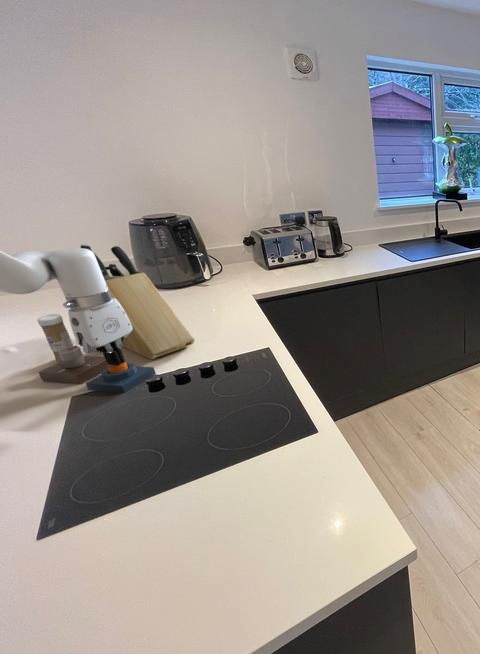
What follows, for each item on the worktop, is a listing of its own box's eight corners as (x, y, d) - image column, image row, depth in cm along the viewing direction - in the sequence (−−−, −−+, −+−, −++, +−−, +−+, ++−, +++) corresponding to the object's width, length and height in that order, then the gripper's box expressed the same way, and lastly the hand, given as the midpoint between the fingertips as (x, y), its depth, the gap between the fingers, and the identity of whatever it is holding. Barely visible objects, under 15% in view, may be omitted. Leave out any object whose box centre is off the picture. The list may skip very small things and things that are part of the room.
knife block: (139, 323, 139) (107, 236, 127) (198, 347, 125) (168, 251, 113) (97, 336, 129) (58, 243, 117) (155, 363, 115) (118, 261, 103)
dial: (74, 368, 106) (67, 353, 105) (60, 367, 107) (53, 352, 105) (90, 361, 110) (83, 345, 108) (76, 360, 110) (69, 345, 109)
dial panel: (42, 381, 106) (37, 371, 105) (79, 364, 114) (74, 354, 113) (80, 384, 105) (76, 374, 104) (114, 366, 113) (110, 357, 112)
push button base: (88, 390, 103) (82, 377, 101) (122, 371, 111) (117, 359, 110) (124, 393, 102) (119, 379, 101) (156, 374, 111) (151, 361, 109)
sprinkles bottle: (51, 362, 114) (31, 320, 109) (65, 354, 118) (46, 313, 113) (70, 361, 115) (51, 319, 110) (83, 353, 119) (65, 313, 114)
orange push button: (105, 373, 104) (103, 367, 103) (119, 366, 107) (117, 360, 107) (118, 374, 104) (116, 368, 103) (131, 367, 107) (129, 361, 106)
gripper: (70, 312, 90) (101, 380, 98) (133, 289, 104) (155, 350, 111) (40, 310, 91) (72, 378, 98) (106, 287, 105) (131, 348, 112)
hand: (117, 363), depth 105 cm, fingers closed
